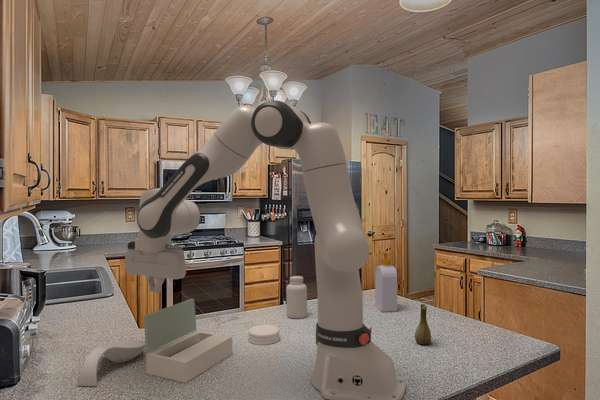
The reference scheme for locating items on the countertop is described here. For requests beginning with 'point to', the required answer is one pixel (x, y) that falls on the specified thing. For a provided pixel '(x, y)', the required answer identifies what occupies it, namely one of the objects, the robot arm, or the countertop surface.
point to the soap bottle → (386, 286)
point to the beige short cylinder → (263, 334)
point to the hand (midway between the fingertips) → (155, 291)
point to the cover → (169, 324)
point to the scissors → (221, 322)
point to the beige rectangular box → (188, 356)
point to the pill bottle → (296, 298)
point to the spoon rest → (113, 352)
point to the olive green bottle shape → (423, 328)
